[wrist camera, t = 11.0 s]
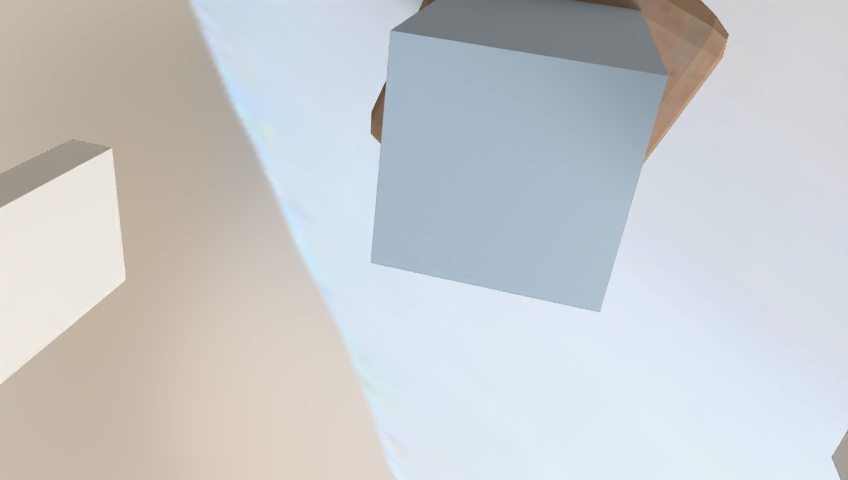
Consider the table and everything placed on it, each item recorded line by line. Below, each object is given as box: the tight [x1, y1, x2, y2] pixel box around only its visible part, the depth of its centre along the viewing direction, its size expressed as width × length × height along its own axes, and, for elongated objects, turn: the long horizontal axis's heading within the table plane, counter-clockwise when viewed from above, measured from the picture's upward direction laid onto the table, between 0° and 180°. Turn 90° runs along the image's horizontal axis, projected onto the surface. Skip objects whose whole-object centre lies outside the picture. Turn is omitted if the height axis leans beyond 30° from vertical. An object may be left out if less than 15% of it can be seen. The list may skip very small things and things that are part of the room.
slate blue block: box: [371, 0, 668, 312], centre depth 20 cm, size 6×6×9 cm
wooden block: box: [371, 0, 729, 164], centre depth 32 cm, size 10×10×20 cm
